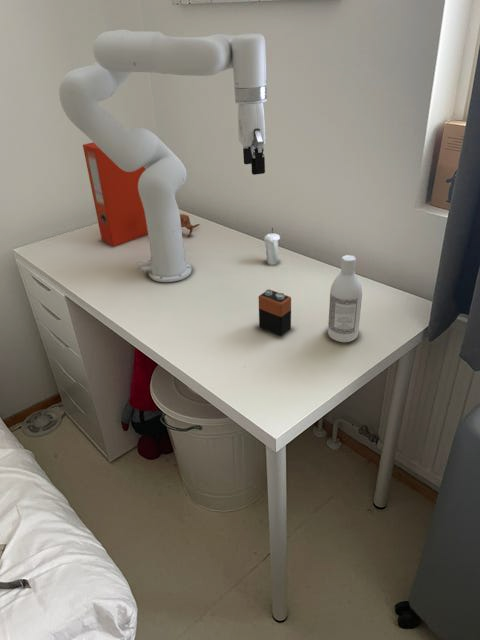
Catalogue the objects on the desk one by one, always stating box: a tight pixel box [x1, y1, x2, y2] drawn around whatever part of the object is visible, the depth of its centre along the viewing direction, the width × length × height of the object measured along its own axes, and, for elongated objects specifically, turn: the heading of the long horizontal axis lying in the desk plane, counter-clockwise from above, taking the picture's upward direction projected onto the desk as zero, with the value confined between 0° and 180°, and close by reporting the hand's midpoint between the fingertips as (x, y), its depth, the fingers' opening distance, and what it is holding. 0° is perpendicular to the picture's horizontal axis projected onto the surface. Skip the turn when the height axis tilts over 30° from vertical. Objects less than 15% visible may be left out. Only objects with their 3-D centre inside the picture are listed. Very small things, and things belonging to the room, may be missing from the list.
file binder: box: [82, 141, 148, 247], centre depth 166 cm, size 8×17×32 cm, turn 133°
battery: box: [258, 288, 292, 337], centre depth 119 cm, size 4×7×10 cm, turn 50°
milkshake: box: [264, 227, 281, 266], centre depth 149 cm, size 4×5×10 cm
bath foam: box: [327, 254, 363, 343], centre depth 112 cm, size 7×7×20 cm
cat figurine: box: [180, 213, 200, 237], centre depth 168 cm, size 18×7×14 cm, turn 141°
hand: (254, 168), depth 126 cm, fingers open, 9 cm apart
